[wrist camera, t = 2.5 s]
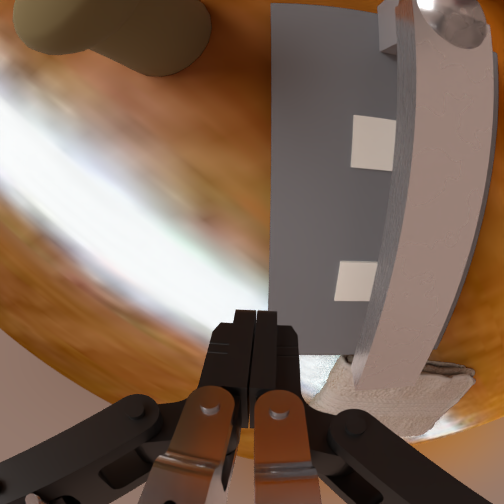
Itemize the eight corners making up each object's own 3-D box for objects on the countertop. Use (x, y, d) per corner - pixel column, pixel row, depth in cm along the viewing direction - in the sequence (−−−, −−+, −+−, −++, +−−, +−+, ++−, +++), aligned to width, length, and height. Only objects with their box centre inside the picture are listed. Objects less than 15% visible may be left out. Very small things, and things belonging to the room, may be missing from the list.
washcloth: (422, 421, 30) (427, 440, 27) (295, 415, 30) (295, 438, 27) (477, 359, 25) (487, 379, 22) (339, 343, 24) (344, 369, 21)
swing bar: (463, 1, 7) (484, -7, 6) (406, 363, 17) (413, 385, 16) (390, -23, 8) (406, -39, 6) (350, 366, 18) (355, 390, 16)
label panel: (487, 48, 12) (531, 43, 7) (432, 340, 23) (451, 380, 18) (271, 2, 13) (267, -31, 8) (267, 343, 24) (263, 391, 20)
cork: (223, 56, 15) (147, -4, 5) (133, 91, 16) (-1, 98, 6) (197, -21, 12) (119, -113, 3) (112, 17, 13) (-10, -18, 4)
